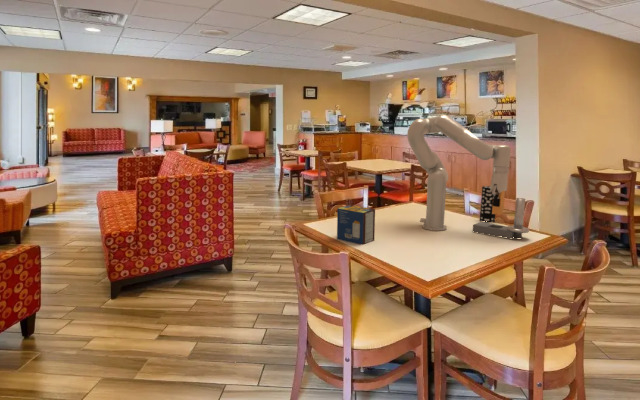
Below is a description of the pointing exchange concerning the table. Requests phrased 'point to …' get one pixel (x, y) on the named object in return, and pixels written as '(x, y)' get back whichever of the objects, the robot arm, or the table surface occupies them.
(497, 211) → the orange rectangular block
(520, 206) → the rosette post
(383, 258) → the table surface
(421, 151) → the robot arm
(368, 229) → the protein box
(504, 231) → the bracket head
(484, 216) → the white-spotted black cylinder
